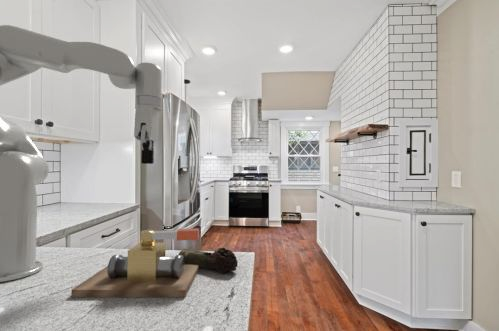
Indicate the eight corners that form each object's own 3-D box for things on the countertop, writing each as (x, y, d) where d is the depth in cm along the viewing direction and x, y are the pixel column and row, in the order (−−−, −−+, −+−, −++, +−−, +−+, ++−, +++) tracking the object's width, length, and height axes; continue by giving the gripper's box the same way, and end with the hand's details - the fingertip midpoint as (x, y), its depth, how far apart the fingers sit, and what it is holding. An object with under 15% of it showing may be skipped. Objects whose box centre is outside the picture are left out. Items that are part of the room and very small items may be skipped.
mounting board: (71, 297, 54) (71, 289, 54) (109, 270, 69) (109, 264, 69) (185, 297, 54) (185, 289, 54) (198, 270, 69) (199, 264, 69)
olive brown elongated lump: (176, 267, 72) (177, 246, 73) (191, 260, 78) (192, 241, 79) (231, 277, 65) (231, 255, 65) (243, 269, 71) (243, 248, 71)
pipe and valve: (105, 283, 58) (105, 250, 58) (120, 271, 65) (120, 242, 65) (177, 283, 58) (177, 250, 59) (184, 271, 65) (185, 242, 65)
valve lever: (138, 246, 60) (139, 232, 60) (142, 243, 63) (142, 229, 63) (197, 244, 62) (198, 231, 62) (198, 241, 65) (198, 228, 65)
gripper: (143, 110, 87) (142, 164, 86) (127, 97, 72) (125, 162, 72) (165, 110, 88) (165, 164, 87) (154, 98, 73) (153, 162, 72)
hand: (147, 163), depth 79 cm, fingers closed
